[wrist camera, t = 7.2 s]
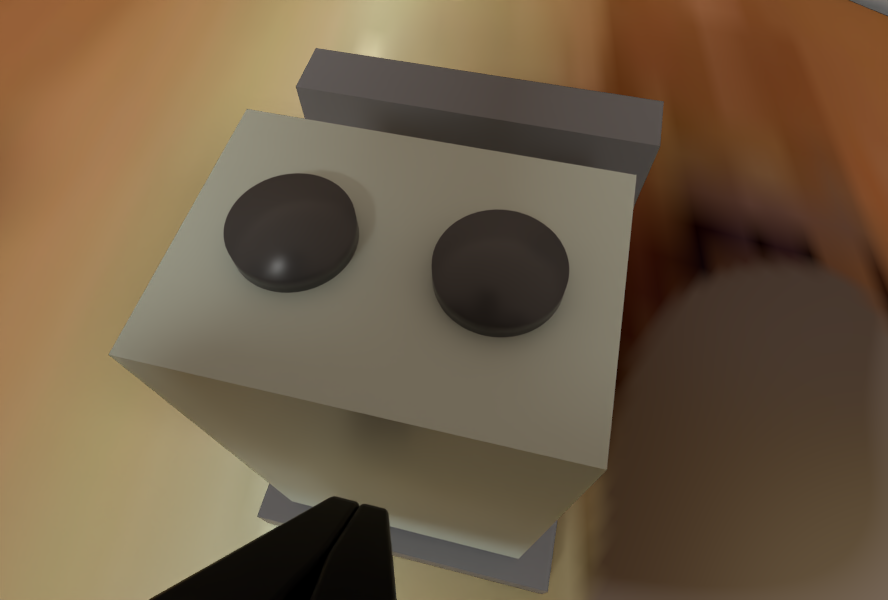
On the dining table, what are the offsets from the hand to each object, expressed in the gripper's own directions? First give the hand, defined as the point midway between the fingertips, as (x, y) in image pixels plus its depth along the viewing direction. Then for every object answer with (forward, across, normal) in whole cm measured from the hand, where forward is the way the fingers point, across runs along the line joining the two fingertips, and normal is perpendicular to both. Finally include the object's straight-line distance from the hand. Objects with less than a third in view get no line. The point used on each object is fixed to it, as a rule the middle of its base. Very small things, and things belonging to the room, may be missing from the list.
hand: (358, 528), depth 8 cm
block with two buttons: (+6, 0, +2) cm, 7 cm away
